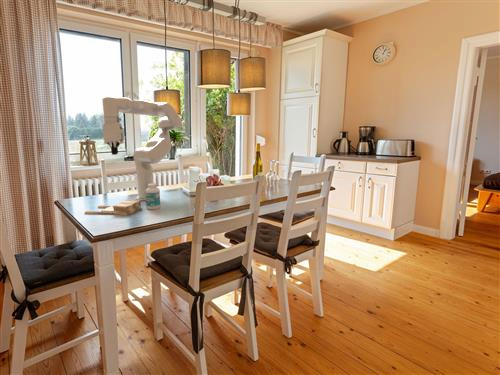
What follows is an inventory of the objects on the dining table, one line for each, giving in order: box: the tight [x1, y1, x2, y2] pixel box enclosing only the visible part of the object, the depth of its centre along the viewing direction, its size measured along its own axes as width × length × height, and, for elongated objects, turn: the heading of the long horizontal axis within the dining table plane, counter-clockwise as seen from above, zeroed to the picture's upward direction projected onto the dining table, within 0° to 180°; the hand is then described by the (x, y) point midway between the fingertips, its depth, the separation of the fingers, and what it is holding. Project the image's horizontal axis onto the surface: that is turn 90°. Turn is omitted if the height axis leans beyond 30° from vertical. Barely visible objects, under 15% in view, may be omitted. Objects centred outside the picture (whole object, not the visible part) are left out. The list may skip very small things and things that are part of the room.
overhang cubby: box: [84, 199, 142, 216], centre depth 163 cm, size 14×24×4 cm, turn 84°
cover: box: [100, 205, 114, 212], centre depth 163 cm, size 9×15×2 cm, turn 84°
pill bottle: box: [145, 182, 161, 210], centre depth 168 cm, size 8×7×14 cm
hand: (114, 154), depth 170 cm, fingers closed
